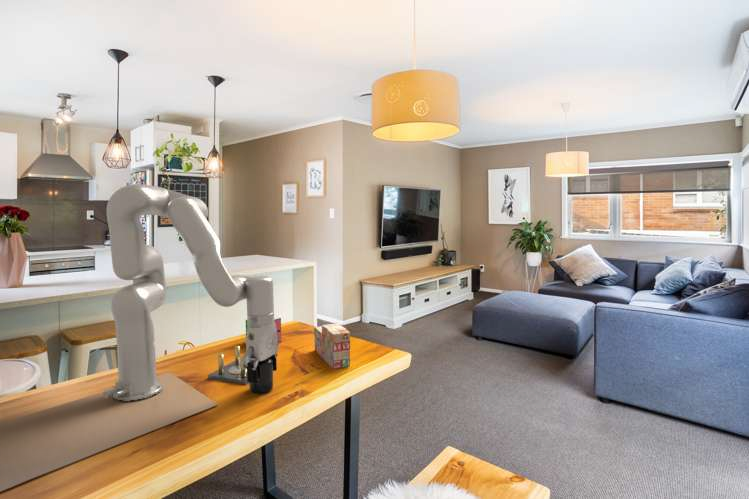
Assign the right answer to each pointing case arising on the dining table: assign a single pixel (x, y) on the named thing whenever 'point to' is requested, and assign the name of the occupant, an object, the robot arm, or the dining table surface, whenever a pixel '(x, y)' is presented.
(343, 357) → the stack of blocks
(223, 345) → the dining table surface
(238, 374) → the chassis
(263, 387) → the supplement bottle
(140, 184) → the robot arm
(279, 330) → the puzzle cube
